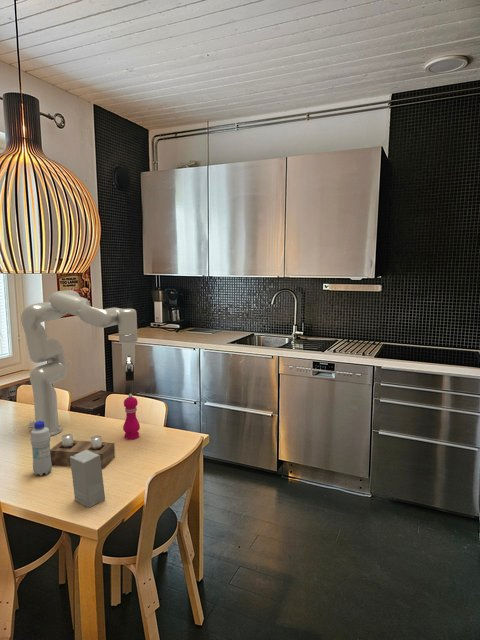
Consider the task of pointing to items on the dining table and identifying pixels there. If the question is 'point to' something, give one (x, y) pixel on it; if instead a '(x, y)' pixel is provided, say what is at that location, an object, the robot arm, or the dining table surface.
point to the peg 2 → (96, 443)
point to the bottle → (41, 449)
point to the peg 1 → (67, 441)
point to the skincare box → (87, 478)
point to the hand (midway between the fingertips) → (129, 377)
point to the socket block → (62, 455)
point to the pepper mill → (131, 418)
